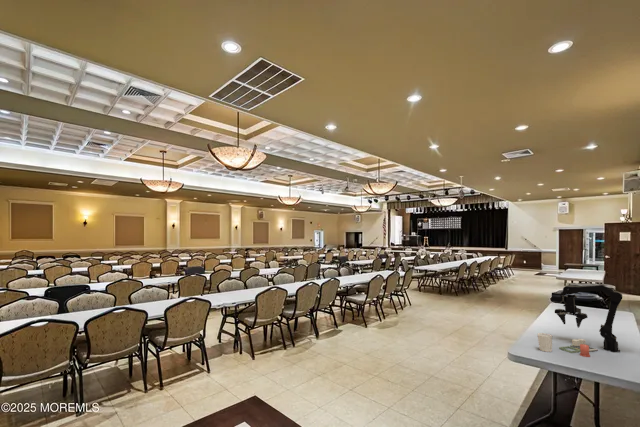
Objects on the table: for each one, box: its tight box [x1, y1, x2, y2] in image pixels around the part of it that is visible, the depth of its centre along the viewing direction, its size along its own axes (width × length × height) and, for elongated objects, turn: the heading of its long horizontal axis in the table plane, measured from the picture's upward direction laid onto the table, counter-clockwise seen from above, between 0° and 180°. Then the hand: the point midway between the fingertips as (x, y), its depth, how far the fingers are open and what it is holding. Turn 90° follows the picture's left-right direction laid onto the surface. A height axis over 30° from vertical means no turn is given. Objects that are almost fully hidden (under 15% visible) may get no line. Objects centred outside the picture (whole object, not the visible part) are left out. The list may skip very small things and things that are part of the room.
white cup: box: [537, 332, 553, 353], centre depth 210 cm, size 8×8×10 cm
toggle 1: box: [571, 339, 580, 346], centre depth 214 cm, size 3×3×4 cm
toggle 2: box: [577, 338, 587, 345], centre depth 215 cm, size 3×3×4 cm
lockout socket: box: [558, 345, 580, 354], centre depth 209 cm, size 8×11×1 cm
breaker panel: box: [569, 344, 599, 353], centre depth 211 cm, size 11×10×1 cm
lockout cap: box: [579, 344, 591, 358], centre depth 200 cm, size 5×5×6 cm
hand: (571, 325), depth 224 cm, fingers open, 9 cm apart
